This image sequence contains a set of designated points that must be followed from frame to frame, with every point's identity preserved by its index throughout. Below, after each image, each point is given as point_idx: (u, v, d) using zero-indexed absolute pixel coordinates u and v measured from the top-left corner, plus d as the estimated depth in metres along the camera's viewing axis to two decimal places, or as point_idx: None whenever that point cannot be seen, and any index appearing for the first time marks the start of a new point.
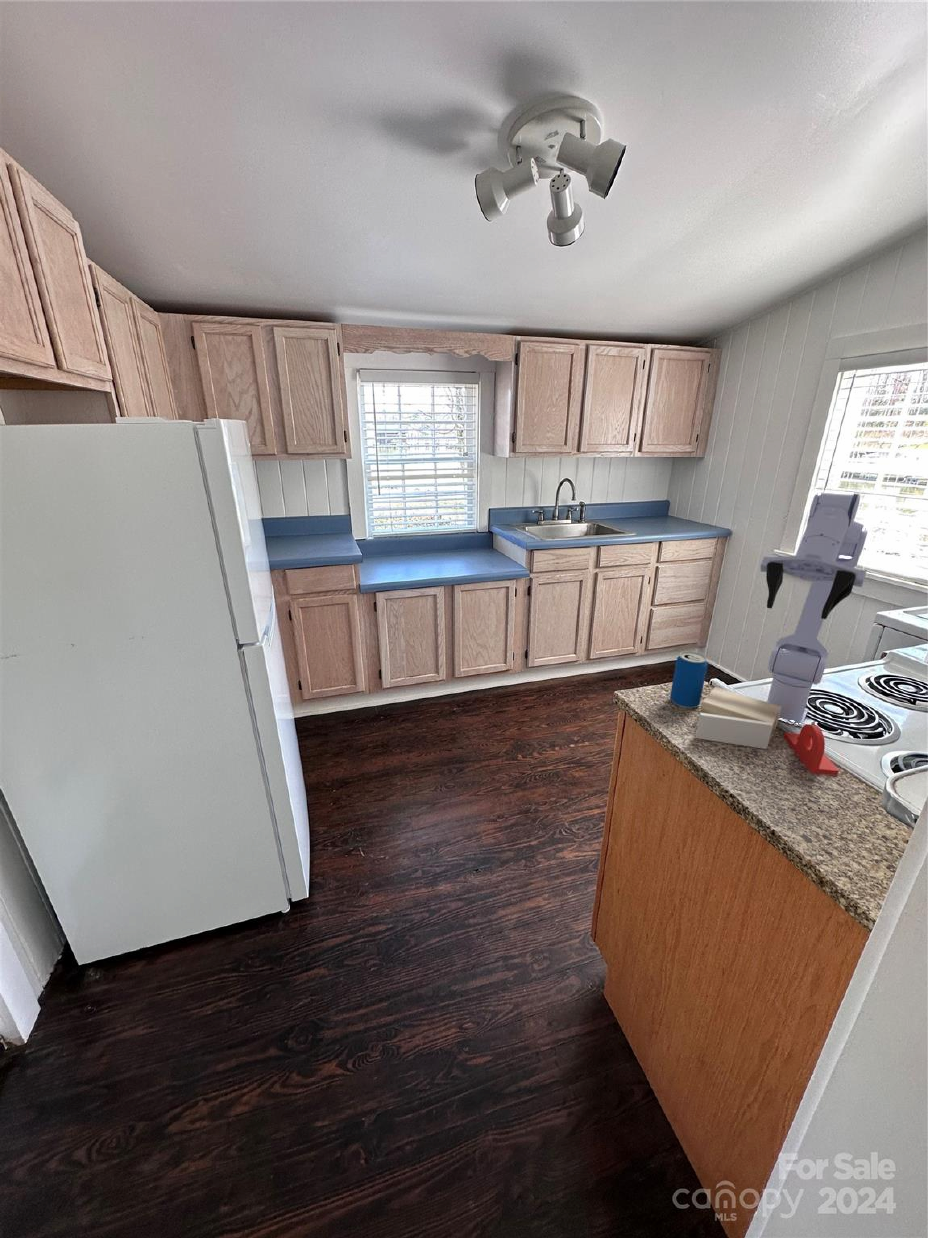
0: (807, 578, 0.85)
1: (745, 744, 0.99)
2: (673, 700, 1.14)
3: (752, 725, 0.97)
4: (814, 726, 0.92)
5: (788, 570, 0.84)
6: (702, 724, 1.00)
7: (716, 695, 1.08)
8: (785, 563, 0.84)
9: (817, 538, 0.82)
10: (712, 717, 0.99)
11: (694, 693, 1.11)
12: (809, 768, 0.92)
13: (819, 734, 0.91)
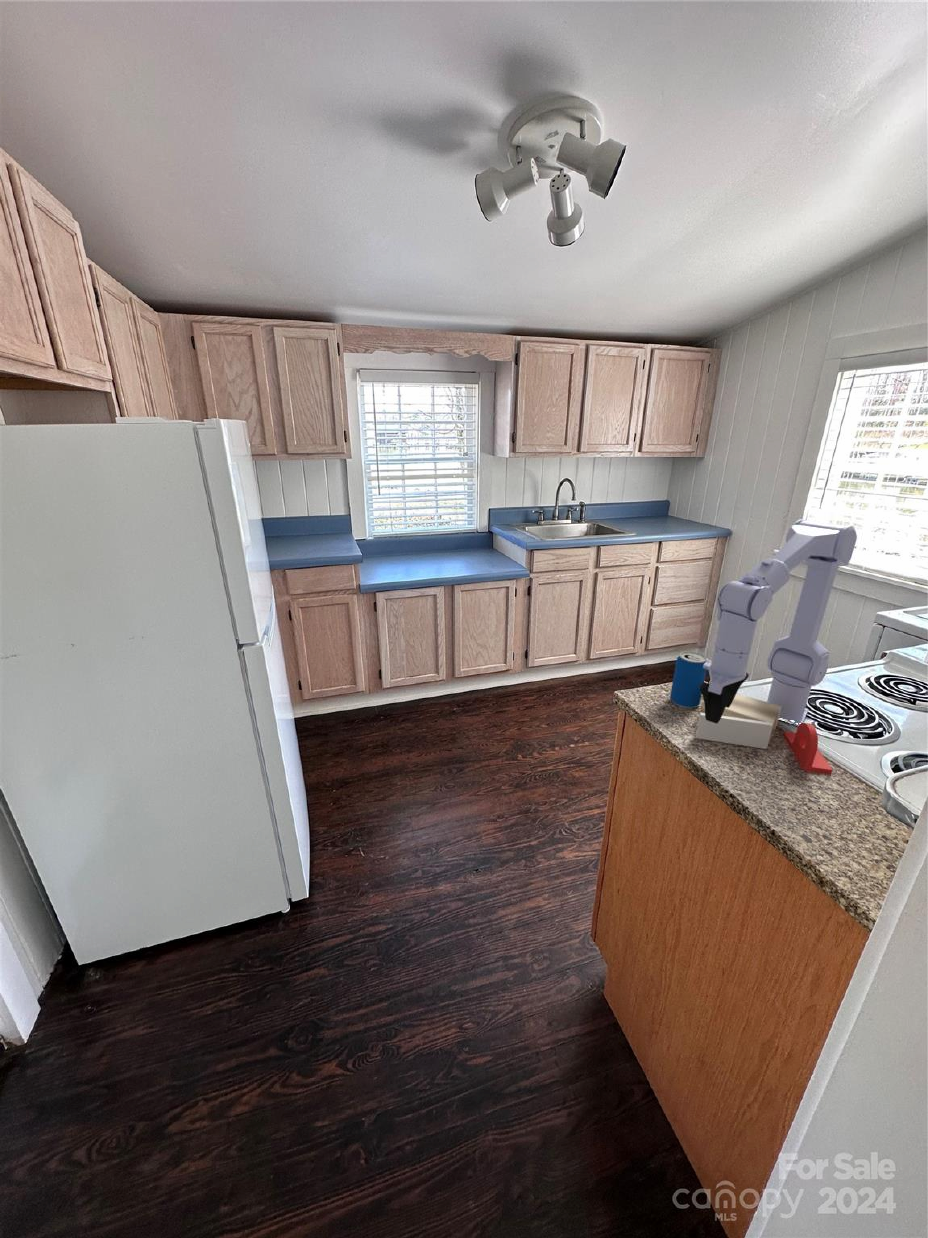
0: None
1: (745, 744, 0.99)
2: (673, 700, 1.14)
3: (752, 725, 0.97)
4: (809, 724, 0.93)
5: None
6: (702, 724, 1.00)
7: None
8: None
9: None
10: None
11: (694, 693, 1.11)
12: (802, 766, 0.93)
13: (813, 732, 0.91)
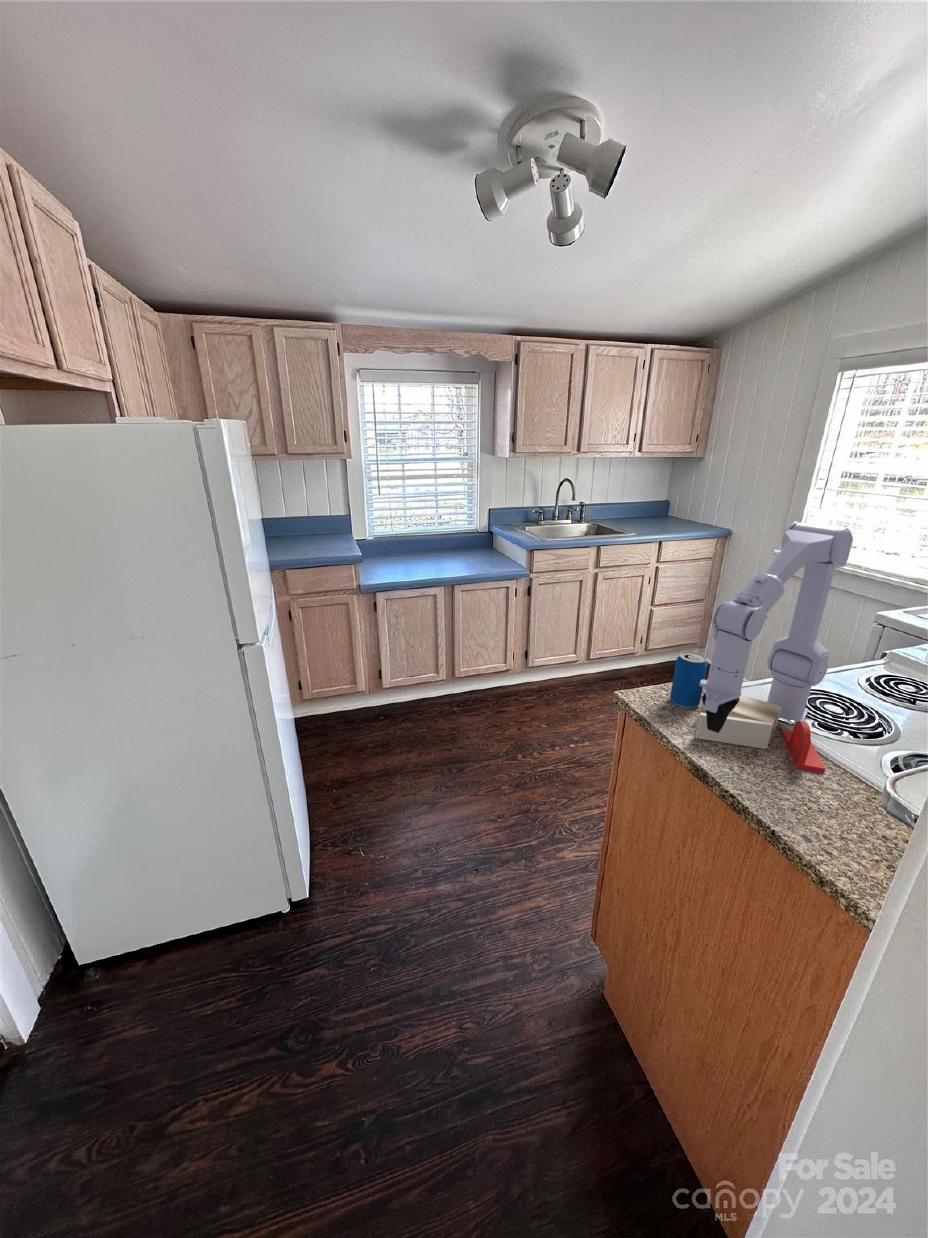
0: None
1: (745, 744, 0.99)
2: (673, 700, 1.14)
3: (752, 725, 0.97)
4: (803, 723, 0.93)
5: None
6: (702, 724, 1.00)
7: None
8: None
9: None
10: None
11: (694, 693, 1.11)
12: (795, 764, 0.93)
13: (806, 730, 0.92)
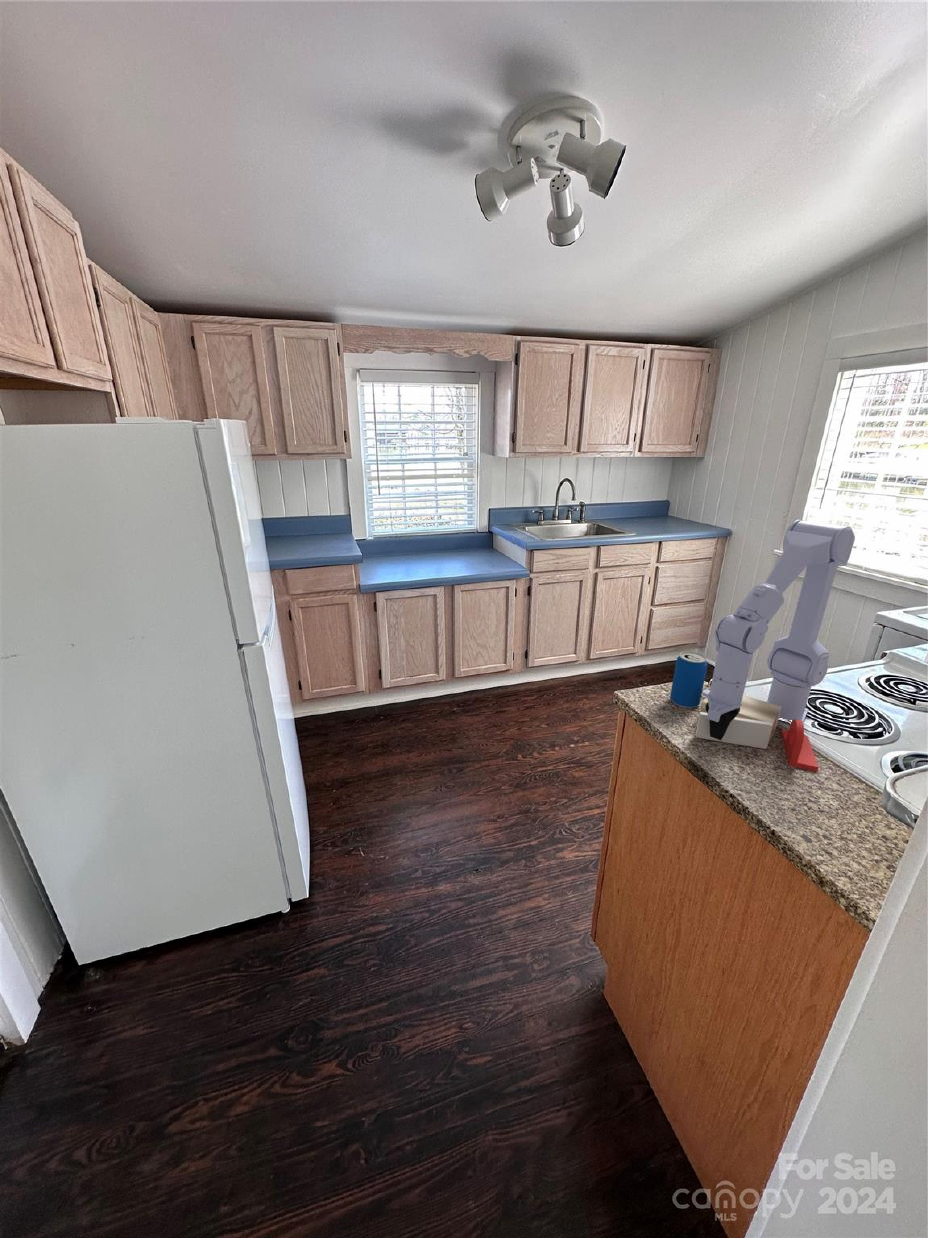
0: None
1: (745, 744, 0.99)
2: (673, 700, 1.14)
3: (752, 724, 0.97)
4: (798, 721, 0.94)
5: None
6: (701, 723, 1.00)
7: None
8: None
9: None
10: None
11: (694, 693, 1.11)
12: (789, 761, 0.94)
13: (800, 728, 0.92)
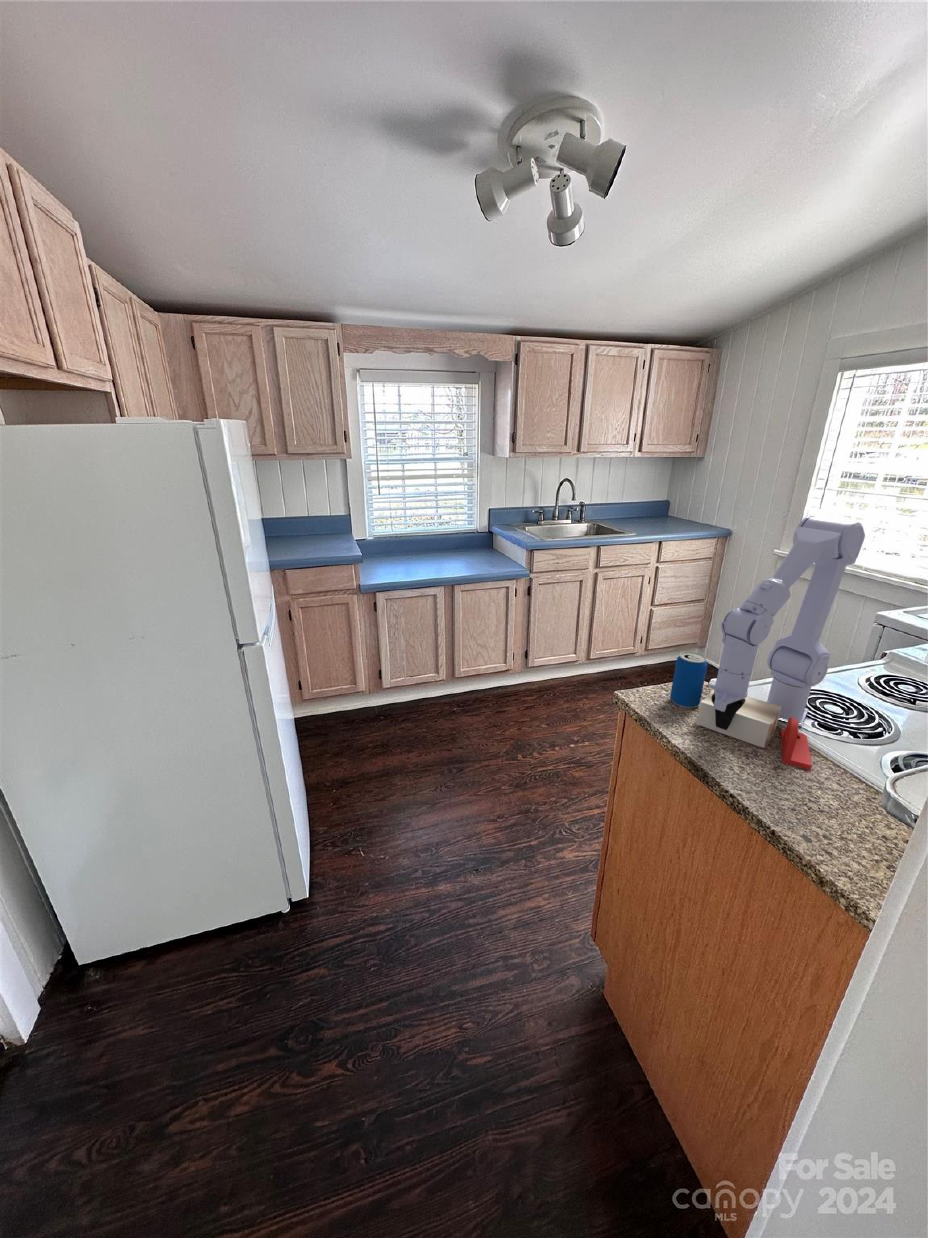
0: None
1: (742, 739, 1.01)
2: (673, 700, 1.14)
3: (749, 720, 0.99)
4: (793, 719, 0.95)
5: None
6: (701, 711, 1.05)
7: None
8: None
9: None
10: (711, 706, 1.03)
11: (694, 693, 1.11)
12: (782, 758, 0.95)
13: (794, 726, 0.93)
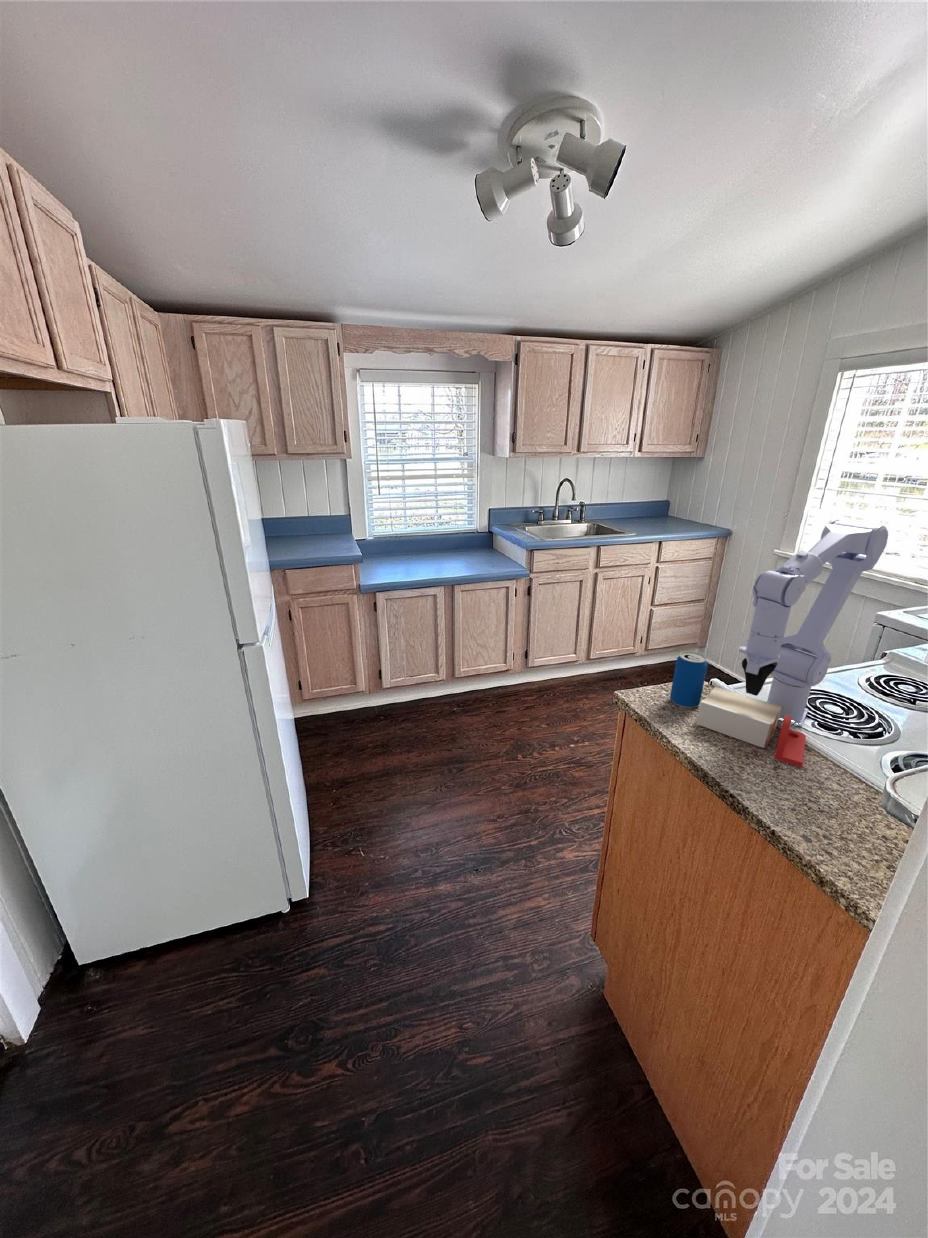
0: None
1: (742, 739, 1.01)
2: (673, 700, 1.14)
3: (749, 720, 0.99)
4: (787, 716, 0.96)
5: None
6: (701, 711, 1.05)
7: (716, 695, 1.08)
8: None
9: None
10: (711, 706, 1.03)
11: (694, 693, 1.11)
12: None
13: (786, 723, 0.94)
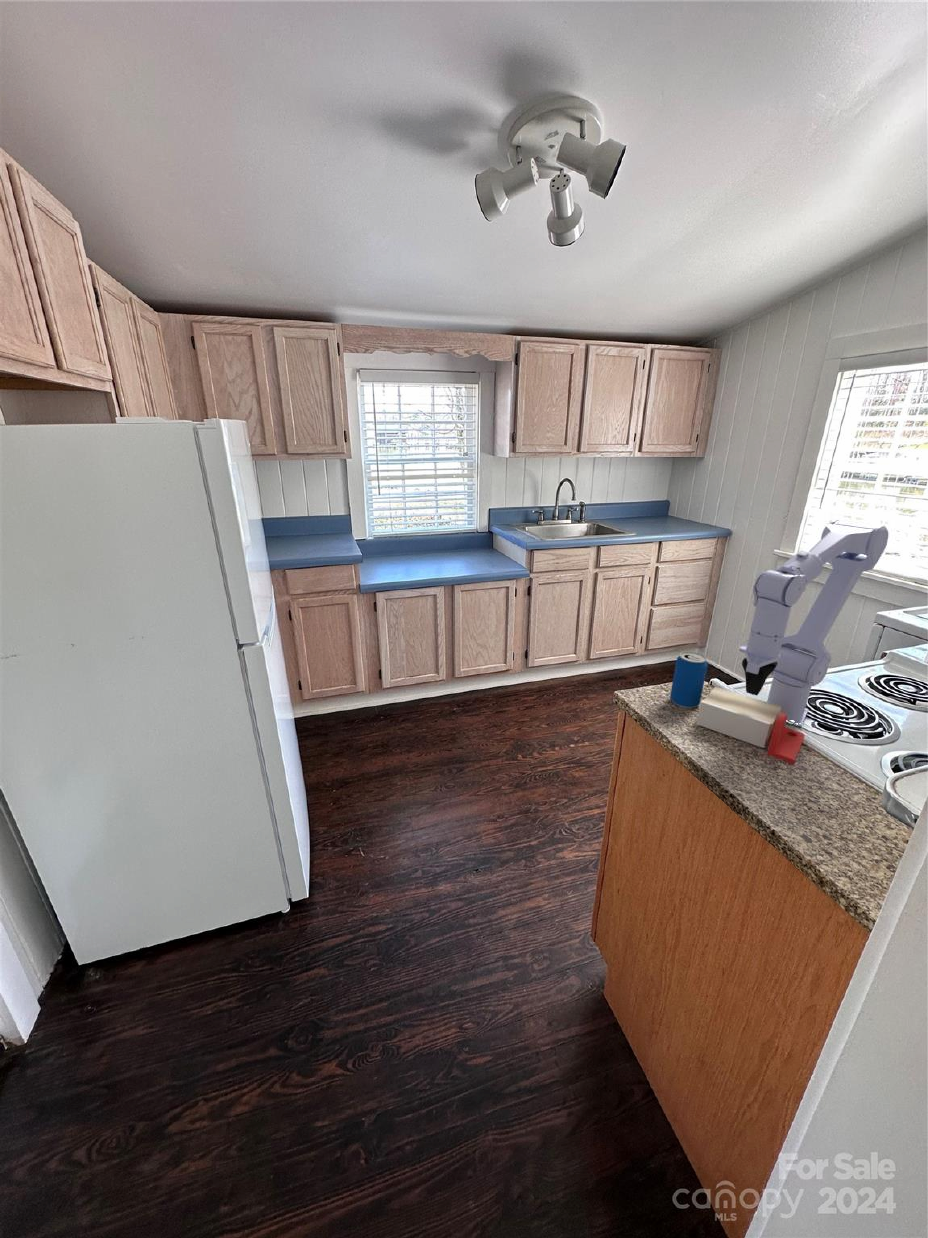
0: None
1: (742, 739, 1.01)
2: (673, 700, 1.14)
3: (749, 720, 0.99)
4: (782, 714, 0.96)
5: None
6: (701, 711, 1.05)
7: (716, 695, 1.08)
8: None
9: None
10: (711, 706, 1.03)
11: (694, 693, 1.11)
12: (767, 751, 0.97)
13: (779, 720, 0.95)
